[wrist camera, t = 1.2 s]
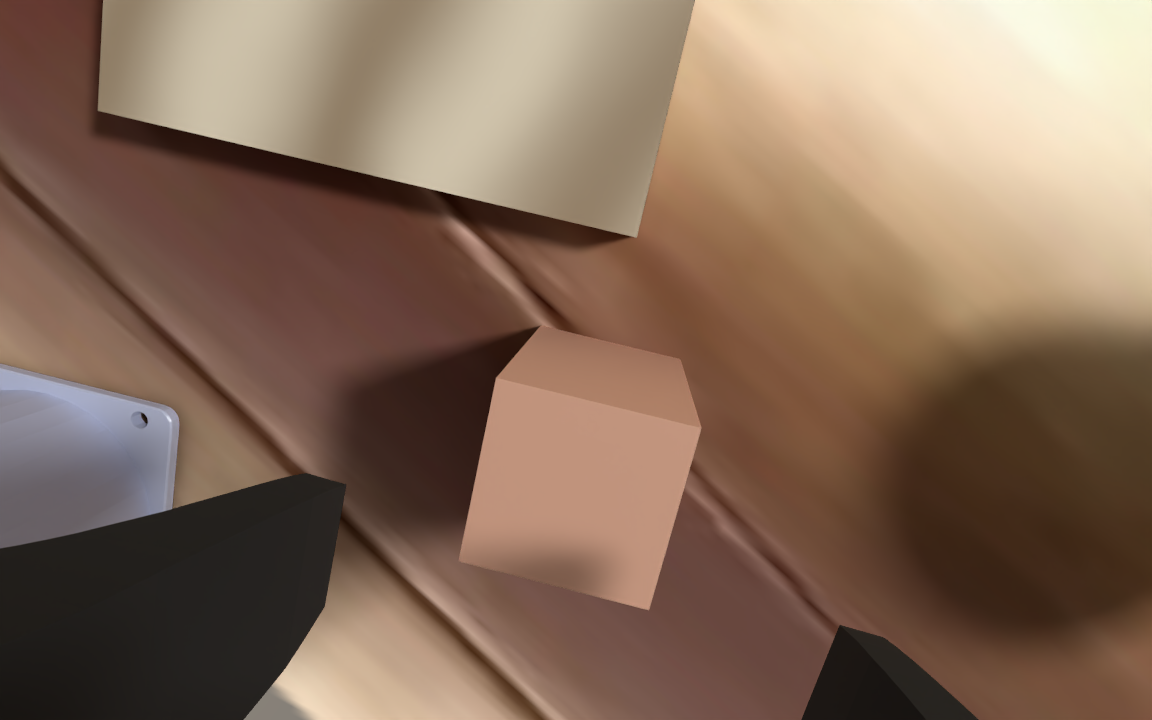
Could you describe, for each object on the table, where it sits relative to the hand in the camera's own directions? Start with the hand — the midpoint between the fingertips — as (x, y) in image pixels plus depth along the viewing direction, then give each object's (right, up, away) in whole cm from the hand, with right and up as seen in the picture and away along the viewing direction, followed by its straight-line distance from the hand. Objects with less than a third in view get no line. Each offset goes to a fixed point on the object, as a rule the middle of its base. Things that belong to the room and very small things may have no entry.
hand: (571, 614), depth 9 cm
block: (+1, +2, +9) cm, 10 cm away
